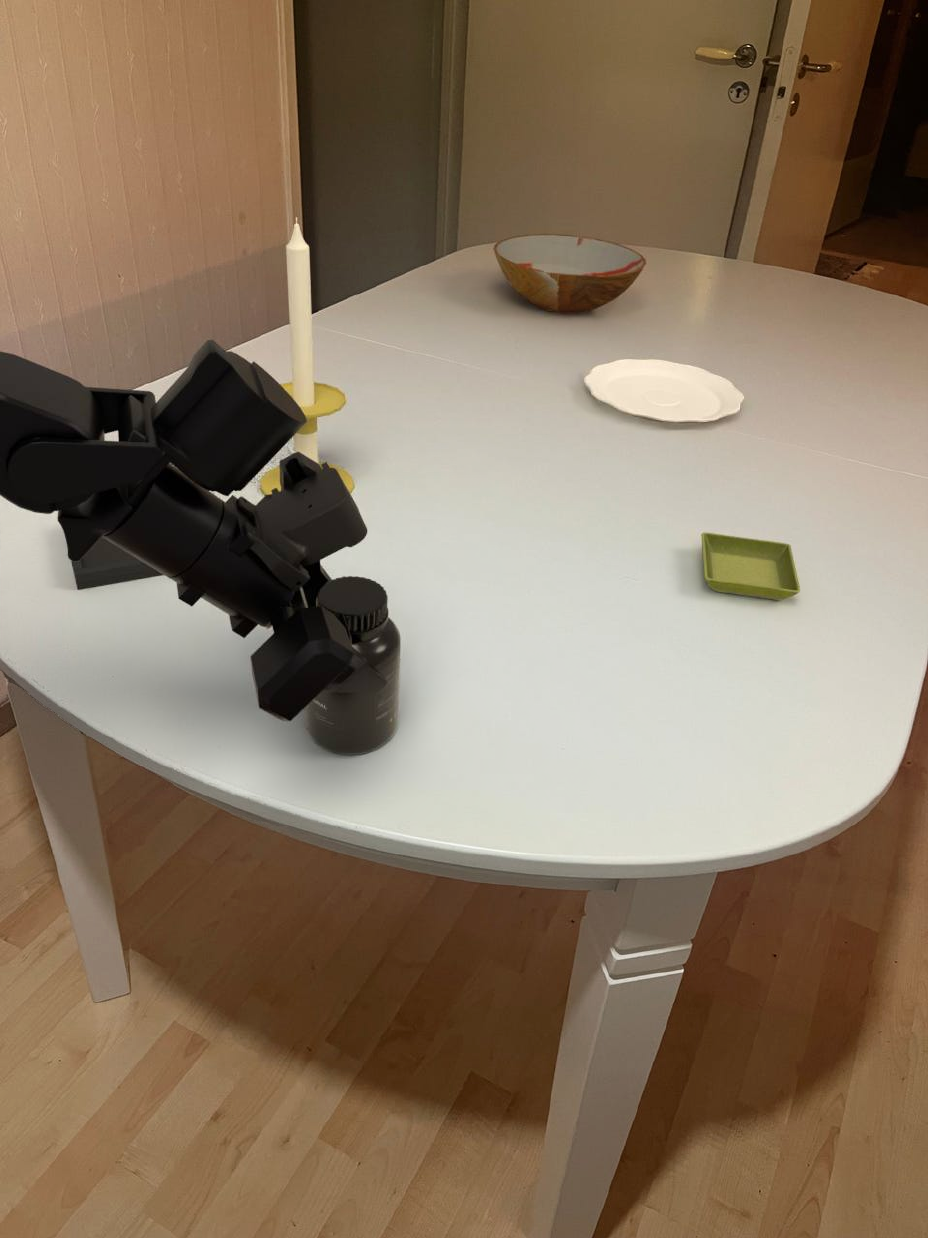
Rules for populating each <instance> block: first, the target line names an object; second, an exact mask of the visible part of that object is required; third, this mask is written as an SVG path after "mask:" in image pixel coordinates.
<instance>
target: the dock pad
mask: <svg viewBox="0 0 928 1238" xmlns="http://www.w3.org/2000/svg"><path fill="white" fill-rule="evenodd" d="M70 561H71V560H70ZM71 566H72V572H73V575H74V580H75V584H76V589H77V590H83V589H89V588H95V587H101V586H106V585H113V584H117V583H118V584H119V583H123V582H128V581H129V582H130V581H134V580H139V579H140V580H141V579H144V578H152V577H157V576H164V575H163V574H162V573H160V572H159V571H157V570H155V569H154V568H152V567H150V566H149V565H147V564H146V563H144V562H142V561H141V560H139V559H137V558H136V557H134V556H132V555H131V554H129V553H128V552H126V551H124V550H123V549H121V548H119V547H118V546H116V545H115V544H113V543H111V542H110V541H108V540H106V539H105V538H103V537H102V538H100V539H99V540H98V542H97V543H96V544H95V545H94V546H93V547H92V548H91V549H90V550H89V551H88V552H87V554H86V555H85V556H84V557H83V558H82V559H81V560H79V561H77V562H74V561H71Z"/></svg>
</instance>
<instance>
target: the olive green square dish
mask: <svg viewBox="0 0 928 1238" xmlns="http://www.w3.org/2000/svg"><path fill="white" fill-rule="evenodd" d="M700 536H701V549H702V561H703V564H702V565H703V577H704V579H705V582H706V584H707V586H708V587H709V588H710V589H711V590H713V591H714V592H717V593H725V594H732V595H737V596H738V595H739V596H740V595H741V596H746V597H753V598H759V599H767V600H773V601H774V600H775V601H781V600H785V599H789V598H791V597H795V596H796V595H797V594H799V593H801V586H800V582H799V578H798V573H797V569H796V564H795V560H794V555H793V551H792V547H791V544H790V543H786V542H785V543H784V542H780V541H779V542H778V541H771V540H765V539H764V540H763V539H756V538H748V537H742V536H741V537H740V536H734V535H727V534H721V533H715V532H713V533H712V532H702V533H701V535H700Z"/></svg>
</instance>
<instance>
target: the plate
mask: <svg viewBox="0 0 928 1238" xmlns="http://www.w3.org/2000/svg"><path fill="white" fill-rule="evenodd" d="M583 383H584V385H585V386H586V387H587V388H588V389H589V391H590V395H591V396H592V397H594V398H595V399H596V400H597V401H599V402H601V403H603V404H607V405H609V406H611V407H612V408H615V409H616V410H617V411H620V412H622V413H625V414H627V415H630V416H631V417H632V416H633V417H635V418H640V419H643V420H647V421H652V422H660V423H665V424H693V423H706V422H707V423H708V422H714V421H717V420H720V419H721V418H723V417H727V416H732V415H735V414H737V413H738V412H739V411H740V410H741V403H743V401H745V396H744V394H743V393H742V392H741V391H740V390H738V388H736V387H735V385H734V384H733V383H732V382H731V381H730V380H729V379H727V378H725V377H724V376H720V375H717V374H714V373H712V372H709V371H707V370H705V369H703V368H701V367H698V366H694V365H690V364H683V363H676V362H674V361H673V362H672V361H669V360H664V359H663V360H662V359H653V358H651V359H631V358H629V359H628V358H627V359H617V360H614V361H612V362H609V363H604V364H598V365H596V366H593V367H591V369H590V372H589V374H587V375H586V376H585V377H584V378H583Z"/></svg>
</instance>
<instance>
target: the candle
mask: <svg viewBox="0 0 928 1238" xmlns="http://www.w3.org/2000/svg"><path fill="white" fill-rule="evenodd" d="M285 249H286V250H285V254H286V256H285V257H286V273H287V274H286V277H287V290H288V291H287V294H288V295H287V296H288V314H289V335H290V336H289V338H290V356H291V357H290V359H291V377H292V381H290V382H285V383H279V384H280V385H281V386H282V387H283V388H284V389H285V390H286V391H287V392H288V393H289V395H290V396H291V397H292V398H293V399H294V400H295V402H296V403H297V404H298V406H299V407H300V408H301V410H302V411H303V413H304V414H305V416H306V419H307V422H306V424H305V425H304V426H303V427H302V428H301V429H300V430H299V431H298V432H297V433H296V434H295V435H294V436H293V437H292V438H293V454H294V453H296V452H300V453H302V454H303V455H305V456H307V457H308V458H310V459H312V460H313V461H315V462H316V463H318V464H319V465H320V466H321V464H323V463H324V462H321V461H319V438H318V418H322V417H327V416H331V415H333V414H335V413H337V412H339V411H342V409H343V407H344V406H345V405H346V404H347V398H346V394H345V392H343V391H342V390H341V389H339V388H338V387H335V386H333V385H330V384H327V383H323V382H317V381H315V375H314V373H315V372H314V371H315V370H314V346H313V345H314V344H313V317H312V316H313V315H312V313H313V312H312V291H311V289H312V288H311V287H312V285H311V259H310V246H309V244H308V243H307V242H306V241H305V239H304V237H303V234H302V231H301V227H300V224H299V223H298V216H297V217H295V223H294V225H293V230H292V234H291V237H290V240H289V243H287V244H286V245H285ZM327 463H328V462H327ZM328 465H329V467H330V468H335V469H336V470H337V471H338V473H339V475H340V477H341V478H342V480H343V482H344V484H345V486H346V487H347V489H348V491H349V493H350V494H352V492H353V490H354V489H355V483H354V477H353V476H352V474H350V473H349V472H348V471H347V470H345V469H344V468H342V467H339V466H337V465H335V464H332V463H328ZM321 468H322V466H321ZM322 469H323V468H322ZM259 481H260V492H261V493H262V494H263V495H264V496H265V495H269V494H272V492H271V490H273V489H275V488H277V489H278V491H279V492H280V491H281V485H280V465H278V466H275V467H273V468H271V469H269V470H268V471H266V473H264V475H263V476H262V477H261V479H260V480H259Z"/></svg>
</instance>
